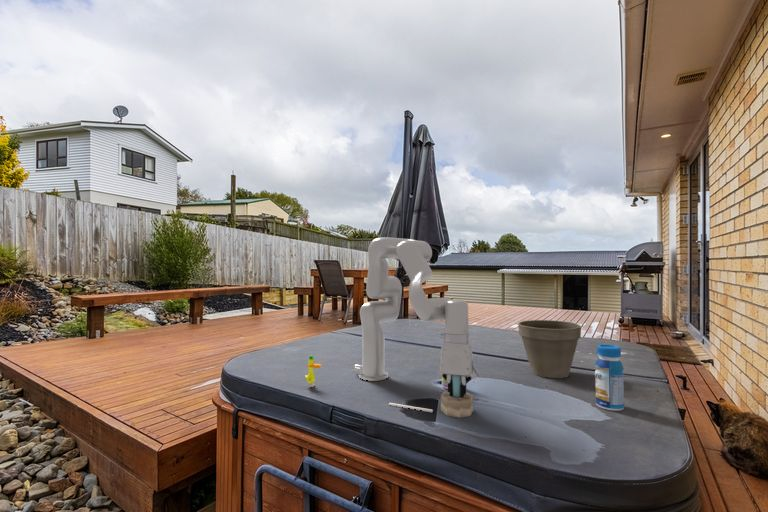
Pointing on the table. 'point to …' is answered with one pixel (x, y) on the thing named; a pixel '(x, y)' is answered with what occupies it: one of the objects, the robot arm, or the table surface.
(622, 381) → the beverage bottle
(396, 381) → the table surface
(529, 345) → the plant pot
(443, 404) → the tan faceted bowl
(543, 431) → the table surface
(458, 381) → the needle dowel
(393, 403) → the white flute
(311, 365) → the toy figure
